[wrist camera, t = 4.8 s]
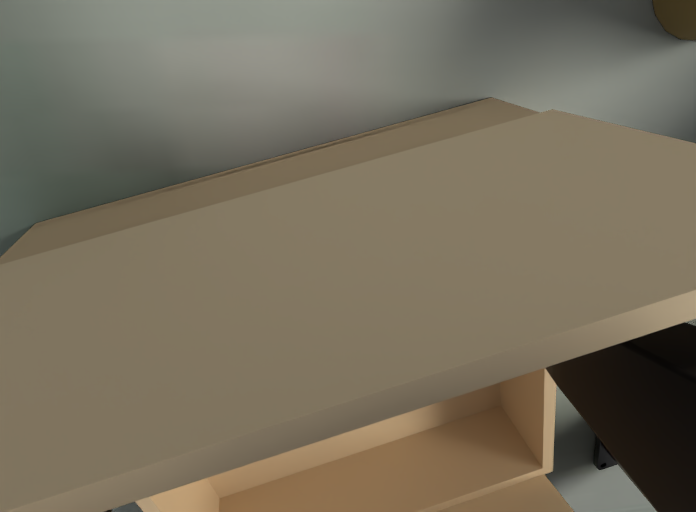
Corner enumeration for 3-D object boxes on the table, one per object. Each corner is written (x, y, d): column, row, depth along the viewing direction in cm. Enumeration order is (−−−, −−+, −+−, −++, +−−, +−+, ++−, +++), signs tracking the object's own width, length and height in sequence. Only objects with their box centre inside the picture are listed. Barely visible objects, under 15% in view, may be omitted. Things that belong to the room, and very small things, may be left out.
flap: (942, 238, 6) (957, 205, 6) (-459, 694, 5) (-511, 676, 5) (552, 125, 14) (552, 109, 14) (-19, 287, 13) (-30, 272, 12)
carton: (505, 401, 28) (552, 471, 24) (214, 497, 27) (207, 590, 22) (491, 97, 18) (566, 121, 14) (35, 223, 17) (-37, 292, 13)
